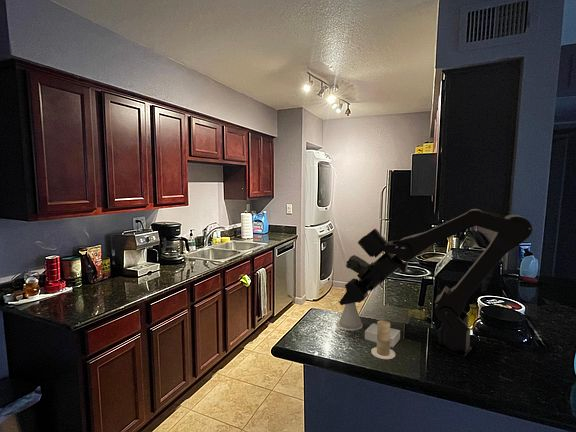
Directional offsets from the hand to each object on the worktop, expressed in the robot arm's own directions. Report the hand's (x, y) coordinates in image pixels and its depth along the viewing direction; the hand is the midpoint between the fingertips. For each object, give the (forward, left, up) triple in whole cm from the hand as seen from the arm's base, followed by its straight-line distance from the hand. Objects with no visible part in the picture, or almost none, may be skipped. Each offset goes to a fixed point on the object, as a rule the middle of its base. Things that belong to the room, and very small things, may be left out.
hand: (345, 298), depth 97 cm
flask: (-2, 0, -8) cm, 8 cm away
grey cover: (-13, +1, -8) cm, 16 cm away
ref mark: (-17, +7, -8) cm, 20 cm away
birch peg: (-17, +7, -8) cm, 20 cm away
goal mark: (-1, 0, -8) cm, 8 cm away
